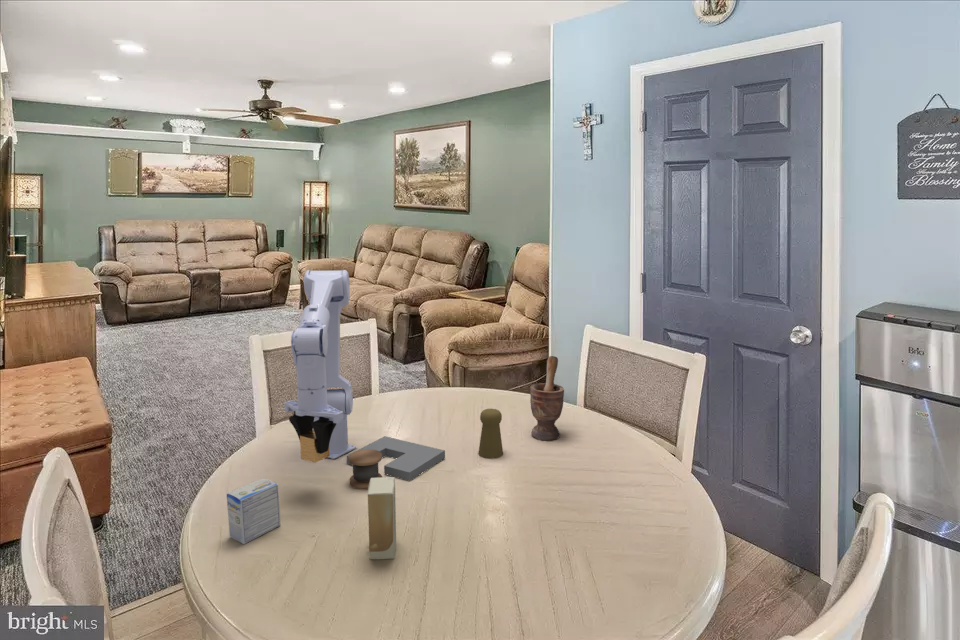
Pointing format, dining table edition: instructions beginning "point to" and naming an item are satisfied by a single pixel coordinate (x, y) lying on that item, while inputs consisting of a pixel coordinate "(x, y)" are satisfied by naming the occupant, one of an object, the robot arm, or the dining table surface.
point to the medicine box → (253, 510)
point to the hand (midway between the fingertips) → (315, 449)
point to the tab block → (311, 448)
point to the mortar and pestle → (547, 404)
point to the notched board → (405, 457)
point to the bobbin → (364, 467)
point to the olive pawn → (490, 434)
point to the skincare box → (382, 518)
